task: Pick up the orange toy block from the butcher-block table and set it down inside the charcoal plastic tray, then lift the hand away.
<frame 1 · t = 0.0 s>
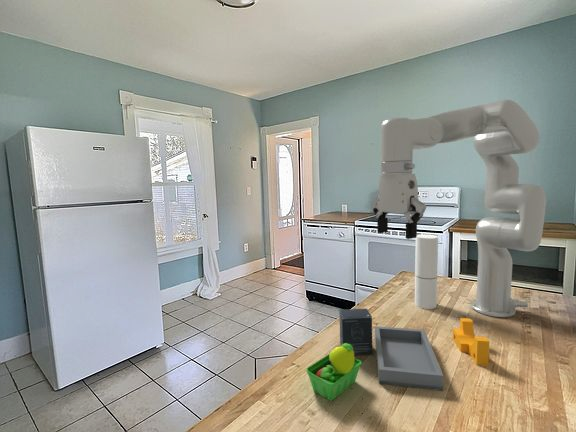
hand: (396, 235, 81), 31 cm above the counter, tool pointing down, fingers open, 9 cm apart
cylindrical container: (425, 305, 110), on the counter
orange toy block: (469, 352, 81), on the counter
box: (355, 350, 84), on the counter
fruit basket: (336, 388, 70), on the counter
tray: (403, 360, 78), on the counter
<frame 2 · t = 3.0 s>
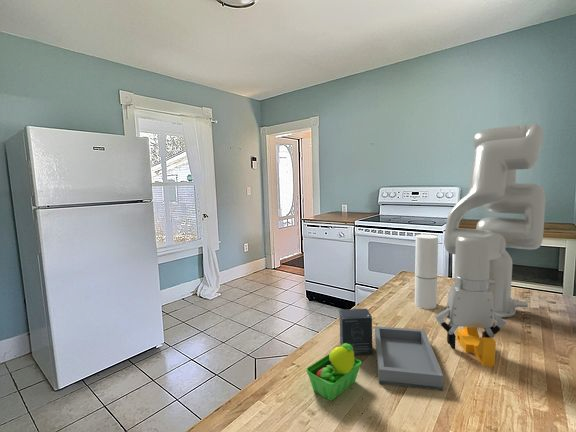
hand: (468, 347, 81), 1 cm above the counter, tool pointing down, fingers open, 7 cm apart
orange toy block: (473, 353, 81), on the counter, touching gripper
everything else where it was.
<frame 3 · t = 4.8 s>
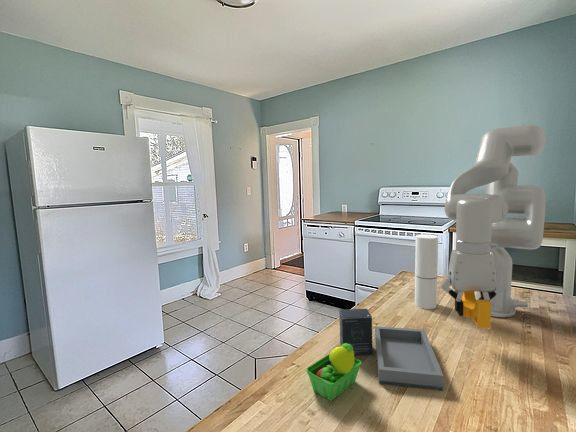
hand: (470, 313, 81), 10 cm above the counter, tool pointing down, fingers closed on orange toy block, 4 cm apart
orange toy block: (470, 317, 81), point 9 cm above the counter, touching gripper
everything else where it was.
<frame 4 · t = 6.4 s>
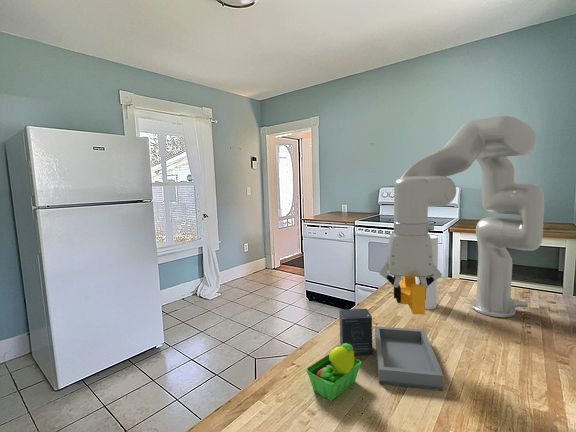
hand: (409, 301, 77), 16 cm above the counter, tool pointing down, fingers closed on orange toy block, 4 cm apart
orange toy block: (409, 304, 77), point 15 cm above the counter, touching gripper
everything else where it was.
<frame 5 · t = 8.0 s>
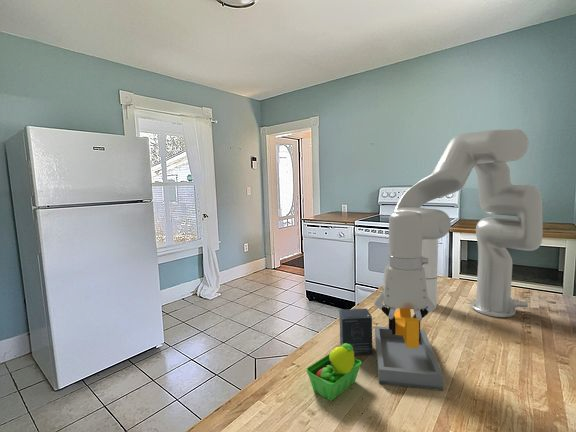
hand: (403, 332, 77), 8 cm above the counter, tool pointing down, fingers closed on orange toy block, 4 cm apart
orange toy block: (404, 335, 77), point 7 cm above the counter, touching gripper
everything else where it was.
when the fingers open (3 cm above the counter, at t = 9.1 s): orange toy block drops 2 cm, resting on tray.
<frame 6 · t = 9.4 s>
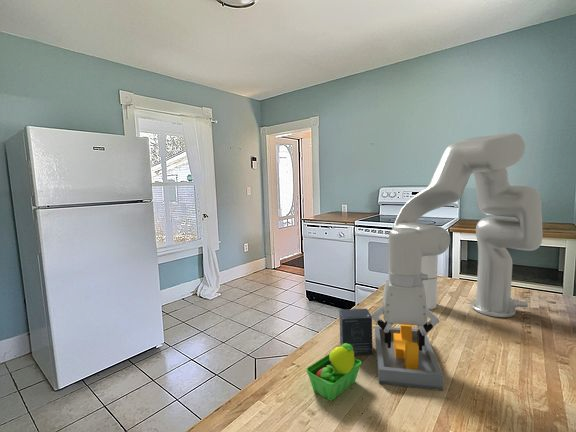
hand: (404, 346, 78), 4 cm above the counter, tool pointing down, fingers open, 6 cm apart
orange toy block: (404, 358, 78), point 1 cm above the counter, touching tray
everything else where it was.
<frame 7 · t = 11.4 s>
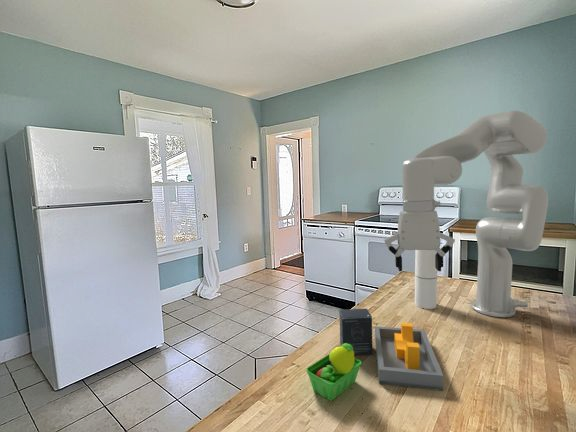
hand: (418, 269, 83), 21 cm above the counter, tool pointing down, fingers open, 9 cm apart
nothing on the counter moved.
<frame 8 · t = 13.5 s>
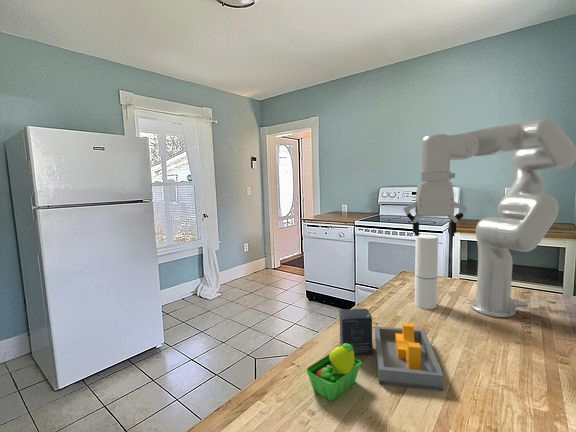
hand: (433, 235, 93), 28 cm above the counter, tool pointing down, fingers open, 9 cm apart
nothing on the counter moved.
at the end: orange toy block inside the target area on the tray (0.7 cm from its centre), point 0.6 cm above the tray's base; the gripper is holding nothing; box moved 0.3 cm from its start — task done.
